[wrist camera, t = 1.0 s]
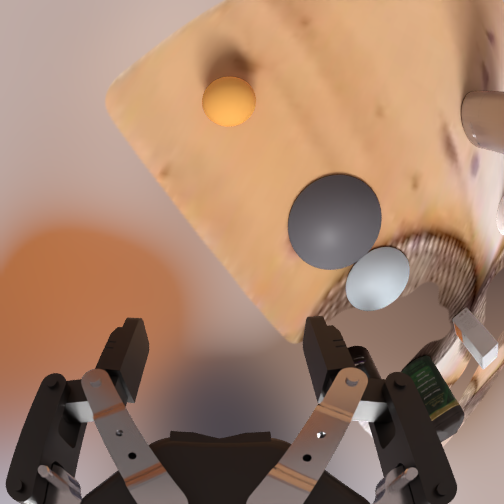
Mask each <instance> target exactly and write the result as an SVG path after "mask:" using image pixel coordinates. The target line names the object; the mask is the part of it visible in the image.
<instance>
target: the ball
mask: <svg viewBox="0 0 504 504" xmlns="http://www.w3.org/2000/svg"><path fill="white" fill-rule="evenodd" d="M255 104H256V97H255V93H254V91H253V89H252V87H251V86H250V85H249V84H248V83H247V82H246V81H244V80H242V79H240V78H237V77H231V76H228V77H222V78H219V79H217V80H215V81H213V82H212V83H211V84H210V85H209V86H208V87H207V88H206V90H205V92H204V94H203V99H202V105H203V109H204V112H205V114H206V115H207V117H208V118H209V119H210V120H211V121H213V122H214V123H216V124H218V125H221V126H236V125H239V124H241V123H243V122H245V121H246V120H247V119H248V118H249V117H250V116H251V115H252V113H253V111H254V109H255Z"/></svg>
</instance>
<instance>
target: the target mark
mask: <svg viewBox="0 0 504 504" xmlns="http://www.w3.org/2000/svg"><path fill="white" fill-rule="evenodd" d="M380 227H381V208H380V204H379V202H378V199H377V197H376V195H375V194H374V192H373V191H372V190H371V188H370V187H369V186H368V185H366V184H365V183H364V182H362V181H361V180H359V179H357V178H354V177H351V176H347V175H330V176H327V177H323V178H321V179H318V180H316V181H315V182H313V183H311V184H310V185H309V186H307V187H306V188H305V189H304V190H303V191H302V192H301V193H300V195H299V196H298V197H297V199H296V200H295V202H294V204H293V206H292V208H291V211H290V215H289V220H288V234H289V238H290V242H291V244H292V247H293V248H294V250H295V252H296V253H297V254H298V256H299V257H300V258H301V259H302V260H303V261H305V262H306V263H308V264H310V265H312V266H314V267H317V268H320V269H327V270H333V269H340V268H344V267H347V266H349V265H352V264H353V263H355V262H357V261H358V260H360V259H361V258H362V257H363V256H365V255H366V254H367V253H368V251H369V250H370V249H371V248H372V246H373V245H374V243H375V241H376V239H377V237H378V234H379V231H380Z"/></svg>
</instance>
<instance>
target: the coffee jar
mask: <svg viewBox="0 0 504 504" xmlns="http://www.w3.org/2000/svg"><path fill="white" fill-rule="evenodd" d="M402 373H405V374H407V375H408V376H410V377H411V378H412V380H413V382H414V384H415V386H416V388H417V390H418V392H419V394H420V396H421V399H422V401H423V403H424V405H425V407H426V409H427V412H428V414H429V416H430V418H431V421H432V423H433V425H434V427H435V430H436V432H437V435H438V437H439V439H440V442H442V441H444V440H446V439H447V438H449V437H451V436H452V435H454V434H455V433H456V432H457V430H458V429H459V427H460V426H461V424H462V422H463V419H464V412H463V410H462V408H461V406H460V405H459V403H458V402H457V400H456V399H455V397H454V395H453V394H452V392H451V390H450V389H449V387H448V385H447V384H446V382H445V381H444V379H443V377H442V376H441V374H440V372H439V371H438V369H437V367H436V366H435V364H434V362H433V361H432V359H431V358H430V357H429V356H423V357H420V358H417V359H415V360H414V361H412V362H411V363H410V364H409V365H408V366H406V367H405V368H404V369H403V371H402Z"/></svg>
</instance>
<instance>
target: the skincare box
mask: <svg viewBox="0 0 504 504" xmlns="http://www.w3.org/2000/svg"><path fill="white" fill-rule="evenodd" d="M452 320H453V324H454V328H455V334H456V335H457V336H458V337H459V339H460V340H461V341H462V343H463V344H464V345H465V346H466V348H467V349H468V350H469V352H470V353H471V354H472V355H473V357H474V358H475V359H476V361H477V362H478V363H479V365H480V366H481V368H482V369H485V368H486V367H487V366H488V365H489V364H490V363H491V362H492V361H494V360H495V359H496V358H497V354H498V342H497V341H496V339H495V338H494V337H493V336H492V335H491V334H490V332H489V331H488V330H487V329H486V328H485V327H484V326H483V325H482V323H481V322H480V321H479V320H478V319H477V318H476V317H475V316H474V315H473V314H472V313H471V311H470V310H469V309H468V308H467V307H466V308H465V309H463V310H462V311H461V312H460V313H459V314H458V315H456V316H455V317H454V318H453V319H452Z"/></svg>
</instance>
